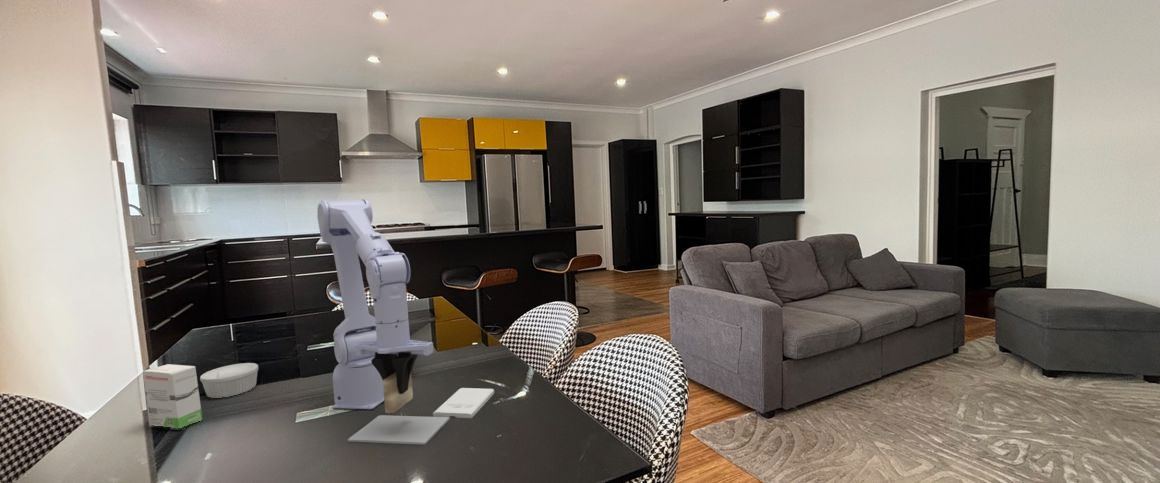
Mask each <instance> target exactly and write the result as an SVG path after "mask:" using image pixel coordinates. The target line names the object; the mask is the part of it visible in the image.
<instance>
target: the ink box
mask: <svg viewBox="0 0 1160 483" xmlns="http://www.w3.org/2000/svg"><path fill="white" fill-rule="evenodd" d="M142 375H143V383H144V384H143V385H144V393H145V399H146V407H147V417H148V424H149V426H150V425H154V426H163V427H171V428H177V429H178V428H182V427H184V426H187V425H189V424H192V423H195V422H198V421H200V422H202V421H203V413H202V407H201V400H200V399H201V398H200V392H199V391H200V390H199V383H198V376H197V368H196V366H195V365H182V364H169V363H166V364H164V365H160V366H156V367H153V368H149V369H145V370H144V371H142ZM201 420H202V421H201ZM198 423H199V422H198Z"/></svg>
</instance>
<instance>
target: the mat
mask: <svg viewBox="0 0 1160 483" xmlns="http://www.w3.org/2000/svg"><path fill="white" fill-rule="evenodd" d="M450 418H451V417H433V416H422V415H421V416H420V415H419V416H418V415H415V416H412V415H411V416H410V415H385V414H384V415H382V414H380V415H378V416H376V417H375V418H374V419H372V420H371V421H370V422H369V423H367V424H366V425H365V426H364V427H362V428H361V429H359V430H357V432H356V433H354V434H353V435H351V436H350V437H349V438H347V443H349V442H350V443H352V442H353V443H373V444H376V443H377V444H396V445H397V444H400V445H423V446H426V444H428V442H430V440H431V439H433V437H434V436H435V435H436V434H437V433H438V432H440V430H441V429H442V428H443V427H444V426H445V425H446V424H447V423H448V422H449V421H450Z"/></svg>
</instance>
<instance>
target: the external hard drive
mask: <svg viewBox="0 0 1160 483" xmlns="http://www.w3.org/2000/svg"><path fill="white" fill-rule="evenodd" d="M494 394H495V390H494V388H476V387H475V388H473V387H461V388H459V389H457V390H456V391H455V392H454V393H453V394H452V395H451V396H450V397H449V398H448V399H446V401H445V402H443V404H441V405H440V406H439V407H437V409H436V410H434V412H432V417H450V418H456V419H457V418H458V419H473V417H474V416H476V414H478V412H479V411H480V410H481V409H482V407H483V406H485V404H487V402H488V401H489V400H490V399H492V397H493V396H494Z"/></svg>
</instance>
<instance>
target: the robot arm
mask: <svg viewBox="0 0 1160 483" xmlns="http://www.w3.org/2000/svg"><path fill="white" fill-rule="evenodd" d="M316 217H317V224H318V228H319V233H320V234H319V235H320V237H321V240H322V242H323V243H326V244H328V245H330V247H331V250H332V253H333V257H334V258H333V259H334V263H335V268H336V273H337V280H338V285H339V291H340V295H341V296H340V298H341V302H342V307H343V313H344V320H343V321H341V323H340V324H339V325H337V326H336V327H335V329H334V330H333V331H334V332H333V349H334V350H333V351H334V356H335V359H336V361H337V363H338V364H337V365H336V366H335V367H334V370H333V371H332V372H333V373H332V388H333V399H334V400H333V401H334V404H333V405H332V408H333V409H349V410H350V409H351V410H353V409H354V410H373V409H374V408H377V406H378V407H379V405H381V403H383V402H384V390H383V380H384V379H386V378H387V377H389V376H391V375H392V374H394V373H395V372H396V377H397V387H398V391H399V394H403V393H404V392H406V391H407V390H408V384H409V379H410V374H411V375H412V370H413V367H414V364H415V362H416V359H417V357H418V355H423V356H429V355H432V354H433V353H434V342H432V341H421V340H415V339H411V335H410V323H409V322H410V321H409V309H408V308H409V307H408V298H407V284H409V282H410V280H411V265H410V262H409V258H408V257H407V256H406V254H405V253H403V252H399V251H395V250H394V249H393V247H392V246H391V244H390V243H389V241H388V239H386V238H385V235H383V234H382V233H380V232H377V231H375V229H374V228H373V225H372V222H373V208H372V205H371V203H370V202H369V200H367V198H366V199H364V198H363V199H355V200H354V199H352V200H349V199H348V200H347V199H346V200H321V201H320V202H319V203H318V205H317V216H316ZM359 258H360V259H361V261H362V263H363V265H364V266H365V275H366V281H367V283H368V286H369V287H368V288H369V294H370V297H371V298H373V309H374V310H373V311H374V312H373V313H374V316H373V315H371V314H370V312H369V306H368V302H367V301H368V300H367V296H366V291H365V290H366V289H365V285H364V281H363V280H364V278H363V273H362V269H361V264H360V259H359Z"/></svg>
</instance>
